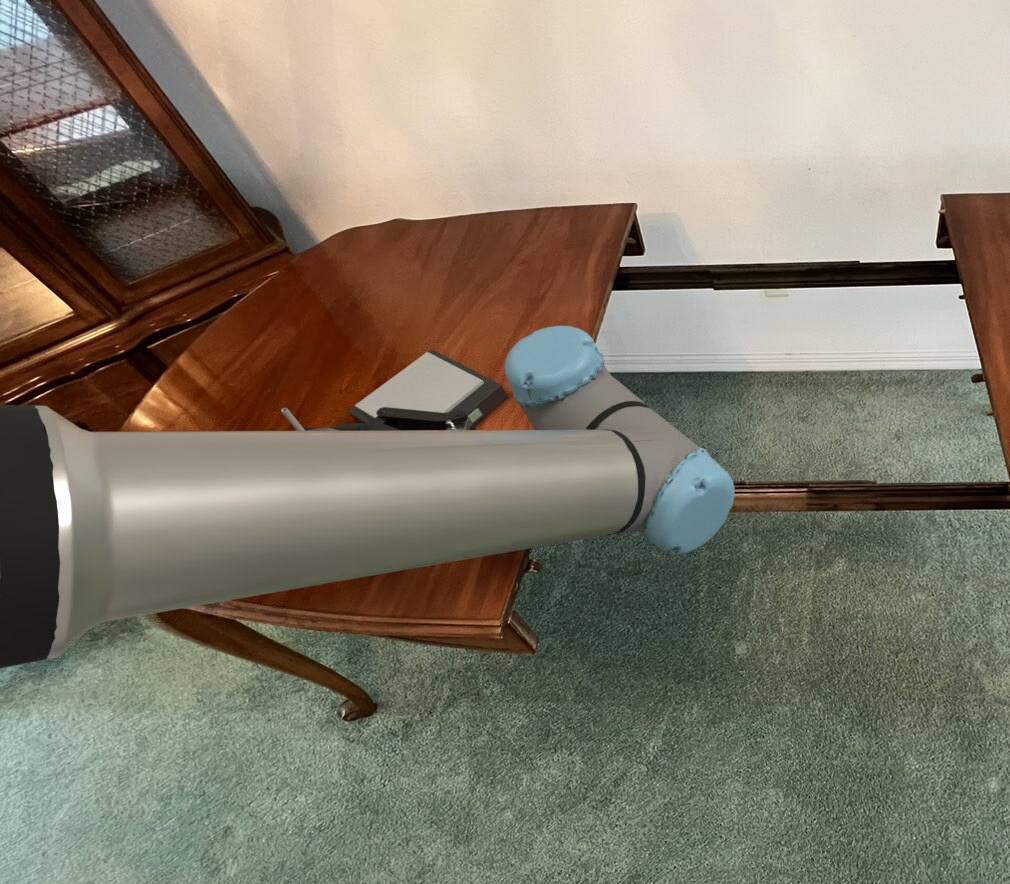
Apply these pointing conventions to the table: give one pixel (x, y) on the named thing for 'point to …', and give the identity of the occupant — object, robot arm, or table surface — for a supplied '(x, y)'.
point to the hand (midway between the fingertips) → (285, 469)
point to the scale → (434, 390)
